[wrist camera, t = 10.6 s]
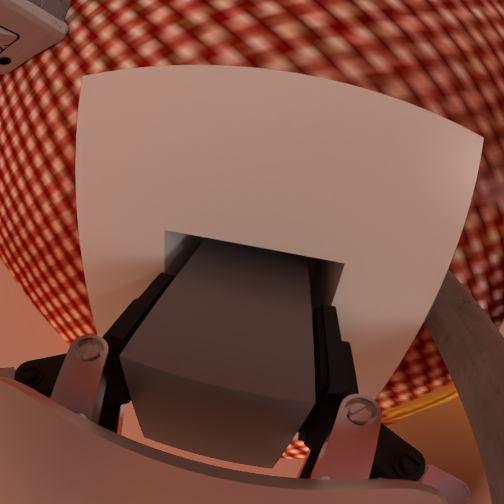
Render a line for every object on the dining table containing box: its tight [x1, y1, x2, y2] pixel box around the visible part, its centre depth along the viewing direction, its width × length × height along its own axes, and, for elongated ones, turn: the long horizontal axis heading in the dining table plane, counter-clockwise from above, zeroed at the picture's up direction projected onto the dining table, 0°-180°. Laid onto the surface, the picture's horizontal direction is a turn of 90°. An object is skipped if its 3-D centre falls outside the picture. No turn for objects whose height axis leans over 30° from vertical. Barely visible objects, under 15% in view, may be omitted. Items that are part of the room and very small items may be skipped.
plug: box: [119, 238, 315, 468], centre depth 11 cm, size 4×4×10 cm
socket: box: [75, 65, 484, 439], centre depth 13 cm, size 15×18×6 cm
